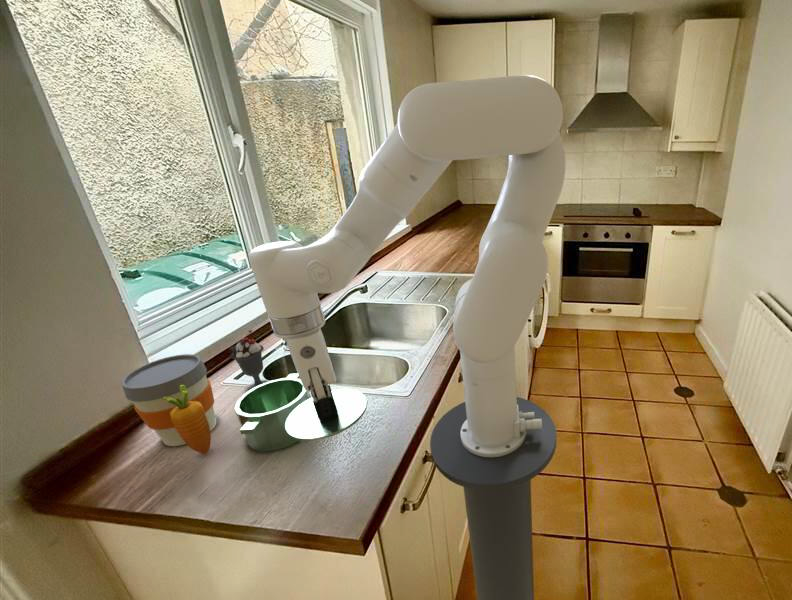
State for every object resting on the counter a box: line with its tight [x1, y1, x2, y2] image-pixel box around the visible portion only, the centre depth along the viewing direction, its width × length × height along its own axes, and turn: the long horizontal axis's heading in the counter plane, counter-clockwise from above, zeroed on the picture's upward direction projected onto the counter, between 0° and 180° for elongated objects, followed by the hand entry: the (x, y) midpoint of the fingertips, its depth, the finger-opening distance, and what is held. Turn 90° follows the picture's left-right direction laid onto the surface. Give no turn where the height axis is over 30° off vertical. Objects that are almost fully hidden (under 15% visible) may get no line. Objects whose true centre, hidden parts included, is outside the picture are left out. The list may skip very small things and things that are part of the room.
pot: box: [233, 373, 312, 453], centre depth 80 cm, size 13×18×8 cm
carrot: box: [163, 385, 212, 455], centre depth 73 cm, size 5×5×15 cm
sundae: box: [228, 329, 270, 392], centre depth 93 cm, size 7×7×15 cm
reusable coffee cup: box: [121, 353, 217, 447], centre depth 79 cm, size 13×13×15 cm
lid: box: [285, 386, 368, 442], centre depth 69 cm, size 14×14×7 cm
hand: (327, 410), depth 70 cm, fingers closed on lid, 2 cm apart
